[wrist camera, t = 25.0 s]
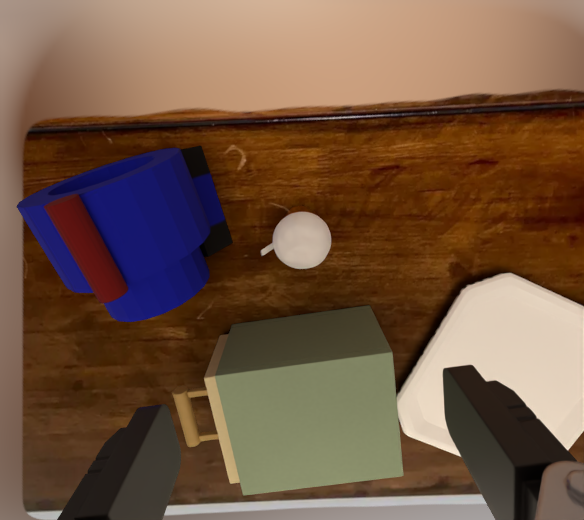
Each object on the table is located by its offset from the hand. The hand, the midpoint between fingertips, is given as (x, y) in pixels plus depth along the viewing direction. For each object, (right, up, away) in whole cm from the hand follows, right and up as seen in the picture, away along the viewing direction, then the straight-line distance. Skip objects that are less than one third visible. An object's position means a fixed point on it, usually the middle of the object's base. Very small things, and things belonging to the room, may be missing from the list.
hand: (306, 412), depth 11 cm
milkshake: (0, +8, +27) cm, 28 cm away
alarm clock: (-13, +8, +27) cm, 31 cm away
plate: (+23, -8, +32) cm, 40 cm away
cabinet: (+1, -7, +31) cm, 32 cm away
